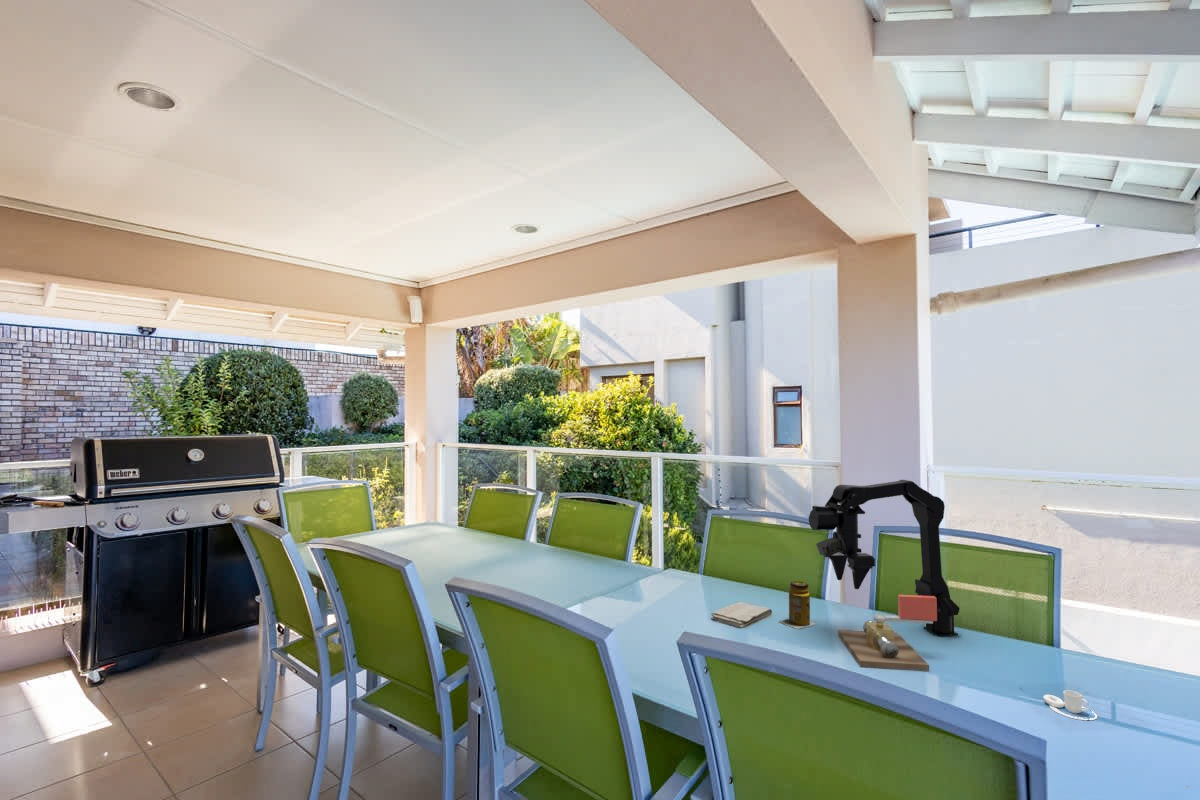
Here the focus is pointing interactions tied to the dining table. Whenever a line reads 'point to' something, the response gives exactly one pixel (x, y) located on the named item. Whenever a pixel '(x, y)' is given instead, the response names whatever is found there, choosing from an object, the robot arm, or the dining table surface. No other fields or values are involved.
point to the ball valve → (881, 638)
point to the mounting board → (875, 658)
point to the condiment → (798, 606)
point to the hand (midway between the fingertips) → (847, 584)
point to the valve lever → (913, 610)
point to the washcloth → (741, 614)
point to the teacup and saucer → (1068, 703)
